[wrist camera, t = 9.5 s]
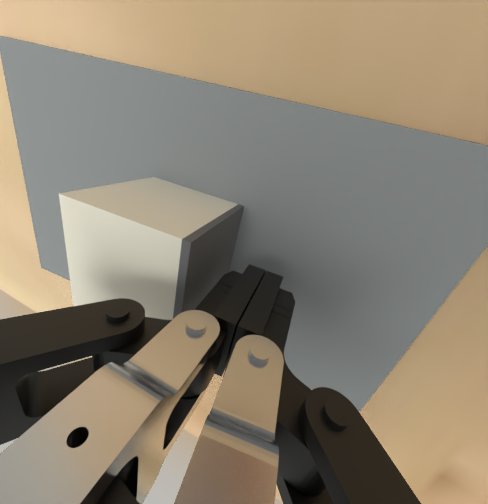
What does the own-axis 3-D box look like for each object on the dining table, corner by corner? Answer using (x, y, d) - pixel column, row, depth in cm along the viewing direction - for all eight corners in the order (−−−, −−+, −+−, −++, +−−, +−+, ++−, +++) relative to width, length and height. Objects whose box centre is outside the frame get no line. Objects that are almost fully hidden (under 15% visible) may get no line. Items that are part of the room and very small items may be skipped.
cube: (190, 242, 7) (58, 193, 8) (175, 355, 9) (73, 307, 10) (244, 206, 12) (154, 177, 12) (224, 289, 14) (149, 259, 15)
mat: (545, 159, 8) (553, 160, 8) (359, 406, 14) (360, 410, 14) (3, 37, 12) (-4, 35, 12) (45, 265, 19) (41, 267, 19)
